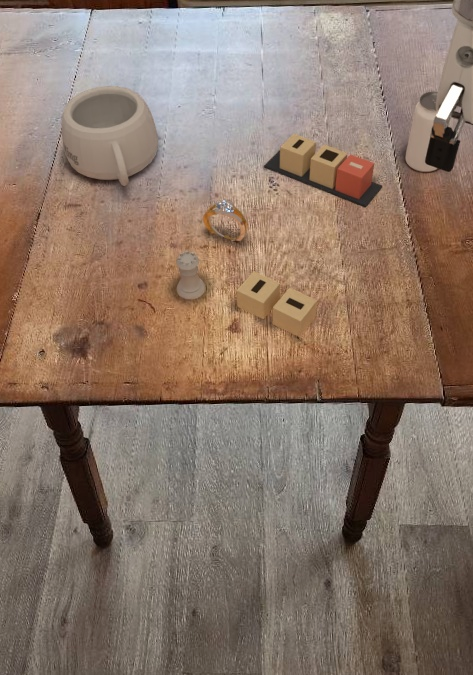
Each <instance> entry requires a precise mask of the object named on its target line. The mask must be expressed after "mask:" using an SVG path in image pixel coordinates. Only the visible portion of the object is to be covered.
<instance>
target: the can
mask: <svg viewBox="0 0 473 675" xmlns="http://www.w3.org/2000/svg"><path fill="white" fill-rule="evenodd" d="M437 94H438V90H435V91H434V90H432V91H427V92H424V93H423V94H421V96H420V97H419V100H418V102H417V103H416V104H415V107H414V112H413V116H412V122H411V127H410V132H409V136H408V142H407V147H406V151H405V157H404V158H405V160H404V161H405V163H406V165H408V167H410V169H411V170H414V171H417V172H419V173H433V172H435V171H436V170H439V169H438V168H435V167H432V166H430V165H427V164H426V163H425V158H426V154H427V149H428V145H429V140H430V134H431V130H432V126H433V121H434V118H435V116H436V114H437V110H436V99H437ZM454 120H455V119H454V118H451V119H450V123H449V126H448V127H451V128H452V127H453V124H454Z"/></svg>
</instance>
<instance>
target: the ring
mask: <svg viewBox="0 0 473 675" xmlns="http://www.w3.org/2000/svg"><path fill="white" fill-rule="evenodd" d="M234 204H235V203H233V201H231V200H228V199H226V198H223V199H222V200H218V201H215V202H213V203H211V204H210V205H209V207H208V208H207V209H206V212H204V215H203V216H202V220H203V221H202V222H203V224H204V226H205V228H206V229H207V231H208V232H209V233H211V234H213V235H218V236H220V237H223V238H224V239H227V240H230V241H232V242H233V243H236V244H238V243H240V242H241V241H242V240H243V239H244V238H245V236H246V235H247V231H248V224H247V219H246V217H245V215H244V214H243V213H242V212H241V210H240V209H239V208H237V207H236V206H235V205H234ZM216 215H220V216H225V217H229V218H231V219H233V220H234V221H235V222H236V223H237V225H238V226H239V229H240V233H239V234H240V235H238V236H237V237H230V236H229V235H227V234H225V235H224V234H222V233H221V232H219V231H218V230H217V229H216V228H215V226H214V225H213V224H212V221H211V217H212V216H216Z"/></svg>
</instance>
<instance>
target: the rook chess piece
mask: <svg viewBox="0 0 473 675" xmlns="http://www.w3.org/2000/svg"><path fill="white" fill-rule="evenodd" d="M184 252H185V253H184ZM175 264H176V266H177V268H178V272H179V274H180V279H179V281H178V283H177V285H176V293H177V295H178V296H179V297H180V298H182V299H185V300H196V299H198V298H200V297H202V296H203V295H204V293H205V291H206V283H204V281H203V280H202V279H201V278H200V276H199V273H198V271H199V266H198V265H199V264H200V258H199V257H198V256H197V255H196V253H195V252H194V251H191V252H190V250H189V249H187V250H185V251H181V252H180V253H179V255H178V256H177V258H176V260H175Z"/></svg>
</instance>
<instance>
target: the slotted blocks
mask: <svg viewBox="0 0 473 675" xmlns="http://www.w3.org/2000/svg"><path fill="white" fill-rule="evenodd" d="M317 306H318V299H316V298H313V297H312V296H309V295H308V294H305V293H304V292H300V291H298V290H296V289H294V288H293V287H288V288H287V290H286V291H285V292H284V293H283V295H282V296H281V282H279V281H277V280H276V279H275V280H274V279H273V278H270V277H269V276H266V275H264V274H261V273H260V272H257V271H255V270H253V271H252V272H251V273H250V274H249V276H248V277H246V279H245V280H244V281H243V282H242V284H241V285H240V286H238V288H237V289H236V307H237V308H239V309H241V310H243V311H245V312H247V313H248V314H251V315H253V316H255V317H257V318H259V319H261V320H264V319H265V318H266V317H267V316H268V314H270V313H271V311H272V325H273V326H276V327H278V328H280V329H282V330H284V331H286V332H288V333H290V334H292V335H294V336H296V337H298V338H301V337H302V335H303V334H304V333H305V331H306V330H307V329H308V328H309V327H310V325H311V323H313V321H314V320H315V318H316V317H317V308H318V307H317Z"/></svg>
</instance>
